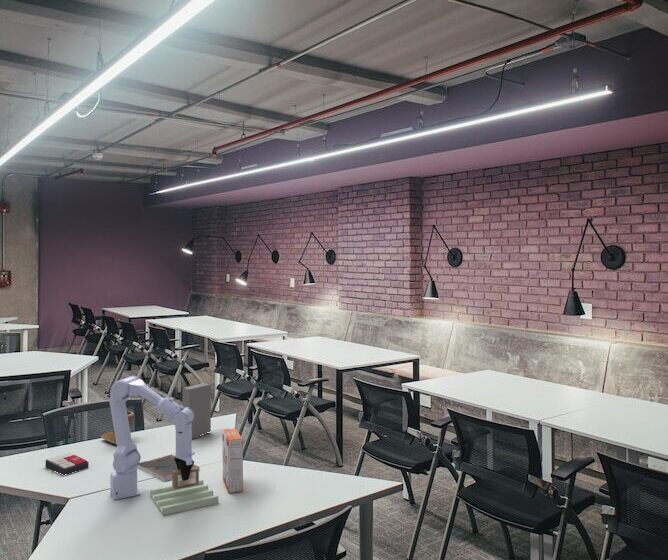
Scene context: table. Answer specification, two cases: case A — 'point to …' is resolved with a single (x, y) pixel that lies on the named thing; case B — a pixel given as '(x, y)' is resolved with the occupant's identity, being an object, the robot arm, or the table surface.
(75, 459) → the red and beige box
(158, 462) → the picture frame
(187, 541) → the table surface
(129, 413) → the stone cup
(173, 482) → the frame
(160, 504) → the green slotted rack
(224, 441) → the cracker box
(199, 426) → the upright grey panel
